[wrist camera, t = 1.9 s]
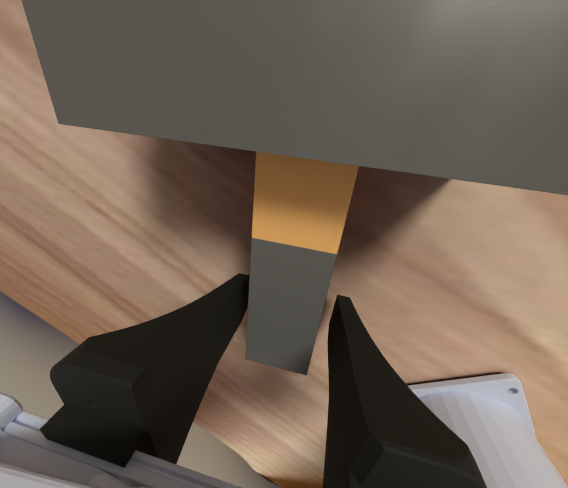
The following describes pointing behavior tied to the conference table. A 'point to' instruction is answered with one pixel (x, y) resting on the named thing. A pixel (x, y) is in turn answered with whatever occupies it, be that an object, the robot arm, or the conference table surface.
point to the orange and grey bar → (293, 254)
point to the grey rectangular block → (324, 79)
